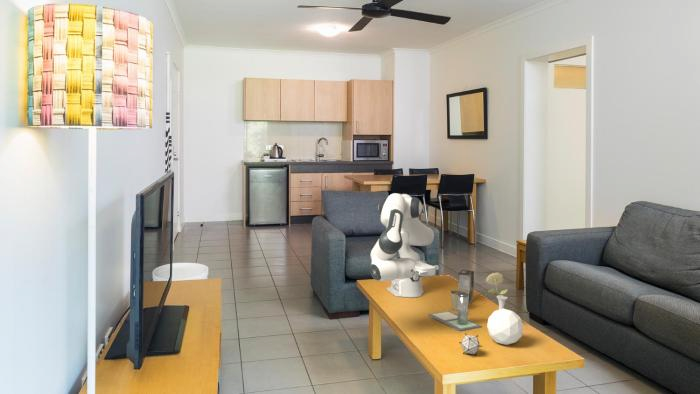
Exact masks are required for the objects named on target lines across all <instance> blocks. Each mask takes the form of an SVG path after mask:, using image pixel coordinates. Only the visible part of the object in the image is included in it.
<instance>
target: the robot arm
mask: <svg viewBox="0 0 700 394" xmlns="http://www.w3.org/2000/svg"><path fill="white" fill-rule="evenodd" d="M377 206H378V207H377V208H378V213H379V215H380V222H381V224H382V225H383V226H384V227H385V229H384V230H383V231H382V233H381V234H380V236H379V238H378V239H377V241H376V243H375V244H374V245H373V248H371V251H370V253H369V255H370V260H371V264H370V266H369V272H370V274H371V276H372V278H373V280H375V281H377V282H391V284H390V286H388V287H386V290H387V292H388V291H389V293H391V294H392V295H393V296H394V297H403V298H418V297H422V296H423V294H424V289H423V281H422V280H423V279H422V277H431V276H436V272H437V271H438V270H439V269H440V266H439V265H438V264H435V265H431V264H428V263H427V261H426V260H421V257H420V254H419V253H418V252H416V251H414V250H413V249H412V248H411V246H415V247H417V246H419V247H426V246H430V245H431V244H432V243H433V242H434V239H435V233H434V230H433V229H432V228H431V227H429V226H427V225H425V224H424V223H423V222H421V220H420V219H419V217H420V216H421V214H422V210H423V205H422V202H421V200H420V199H419V198H417V197H415V196H411V195H409V194H407V193H396V192H394V193H391V194H390V195H388V196H386V197H382V198H381V199H380V200H379V202H378V205H377ZM397 253H398V254H399V256H397V257H396V256H395V255H396V254H397Z"/></svg>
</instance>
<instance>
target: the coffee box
mask: <svg viewBox="0 0 700 394" xmlns="http://www.w3.org/2000/svg"><path fill="white" fill-rule="evenodd" d="M474 275H475V271H474V270H468V269H462V270H461V271H460V272H459V273H458V280H457V281H458V282H457V283H458V286H457V287H458V288H457V290H462V291H466V292H468V294H469V296H468V305H470V304H471V303H472V302H473V301H474V286H475V285H474V281H475V279H474V278H475V277H474Z"/></svg>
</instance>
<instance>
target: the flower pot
mask: <svg viewBox="0 0 700 394" xmlns="http://www.w3.org/2000/svg"><path fill="white" fill-rule="evenodd" d="M458 293H468V292H466V291H462V290H458V289H453V290H450V291H449V294H450V297H451V298H450V299H451V306H452V307H451V308H452V310H454V311H458Z"/></svg>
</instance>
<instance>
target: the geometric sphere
mask: <svg viewBox="0 0 700 394" xmlns="http://www.w3.org/2000/svg"><path fill="white" fill-rule="evenodd" d="M486 325H487V326H486V327H487V331H488V333H489V334H488V336H489V337H490V338H491V339H492V340H494V341H495V342H496V343H498V344H501V345H504V346H509V345H511V344H516V342H517V341H519V340H520V339H521V337H523V336H522V335H523V330H524V325H523V321H522V318H521V317H520V316H519V315H518V314H517V313H516V312H515V311H512V310H510V309H507V308H504V309H501V310H499V309H496V310H495V311H493V312H492V313H491V315H489V317H488V320H487V324H486Z"/></svg>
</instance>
